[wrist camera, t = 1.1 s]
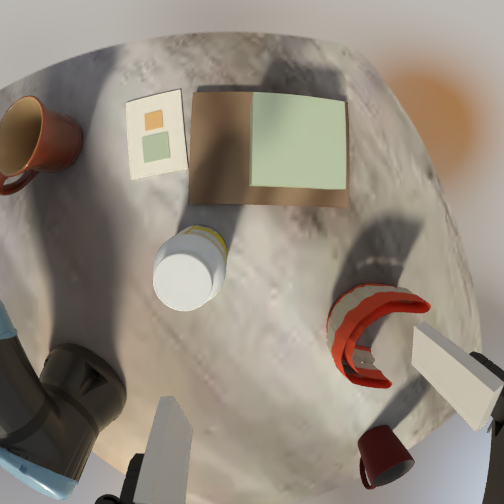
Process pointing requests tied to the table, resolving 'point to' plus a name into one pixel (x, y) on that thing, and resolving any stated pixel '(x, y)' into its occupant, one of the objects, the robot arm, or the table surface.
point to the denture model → (360, 317)
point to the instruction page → (156, 135)
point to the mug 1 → (35, 142)
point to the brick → (297, 141)
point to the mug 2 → (382, 457)
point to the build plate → (240, 158)
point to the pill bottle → (190, 268)
